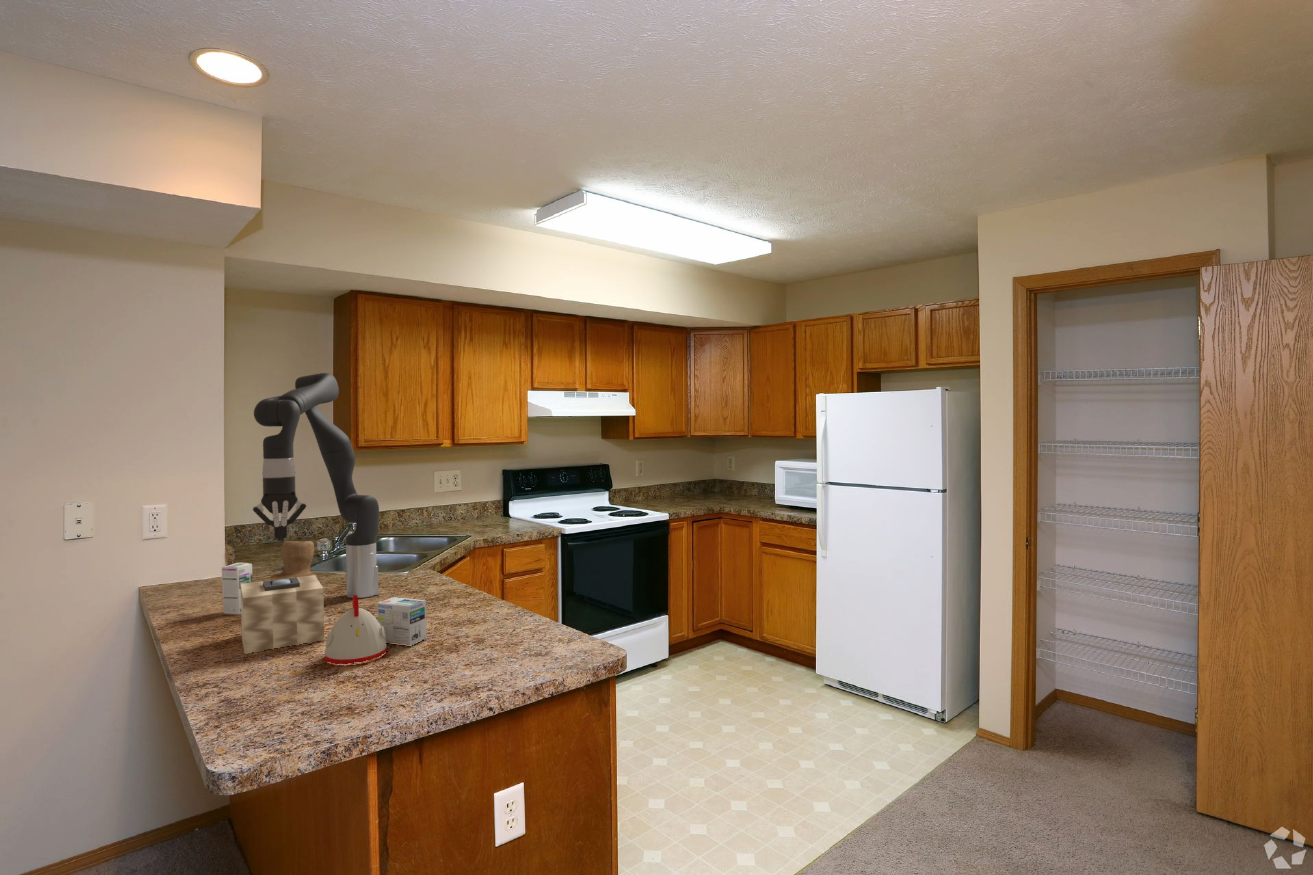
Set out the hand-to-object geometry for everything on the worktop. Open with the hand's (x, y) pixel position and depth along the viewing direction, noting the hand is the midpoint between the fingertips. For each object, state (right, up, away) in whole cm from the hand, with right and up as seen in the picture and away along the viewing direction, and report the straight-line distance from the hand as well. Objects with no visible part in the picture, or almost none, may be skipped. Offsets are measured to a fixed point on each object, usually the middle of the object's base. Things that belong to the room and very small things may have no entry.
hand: (280, 540), depth 180 cm
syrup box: (-27, -26, +26) cm, 46 cm away
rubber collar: (0, -12, 0) cm, 12 cm away
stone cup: (-31, -25, +64) cm, 75 cm away
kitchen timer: (+26, -27, -13) cm, 40 cm away
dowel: (0, -23, +1) cm, 23 cm away
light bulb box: (+33, -26, -2) cm, 43 cm away
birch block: (0, -26, +1) cm, 26 cm away
